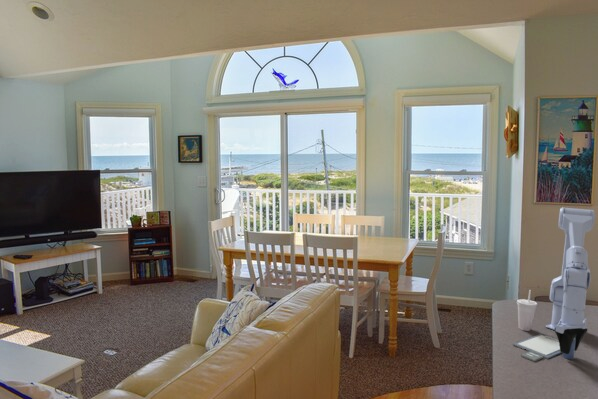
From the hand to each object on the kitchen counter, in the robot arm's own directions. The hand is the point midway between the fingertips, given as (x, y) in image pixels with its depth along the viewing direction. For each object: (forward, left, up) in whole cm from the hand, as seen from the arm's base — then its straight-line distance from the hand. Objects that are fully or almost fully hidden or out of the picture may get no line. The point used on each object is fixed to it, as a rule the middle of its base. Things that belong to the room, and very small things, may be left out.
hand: (568, 351), depth 138 cm
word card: (+10, -6, -2) cm, 12 cm away
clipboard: (-1, -8, -2) cm, 8 cm away
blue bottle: (0, 0, -2) cm, 2 cm away
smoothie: (-10, -20, -2) cm, 22 cm away
